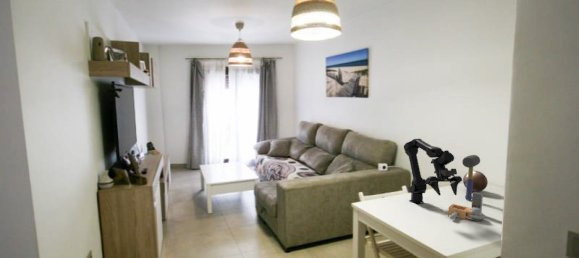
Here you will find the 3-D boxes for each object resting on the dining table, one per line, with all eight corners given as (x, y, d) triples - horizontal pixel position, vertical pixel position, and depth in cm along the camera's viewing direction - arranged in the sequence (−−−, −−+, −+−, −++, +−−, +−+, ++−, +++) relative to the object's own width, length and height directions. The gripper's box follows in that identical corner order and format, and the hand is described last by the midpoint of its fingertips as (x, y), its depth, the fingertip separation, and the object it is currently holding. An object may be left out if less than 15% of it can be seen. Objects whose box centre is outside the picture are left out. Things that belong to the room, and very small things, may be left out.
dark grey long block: (471, 213, 179) (472, 193, 177) (472, 212, 181) (474, 191, 180) (479, 216, 176) (481, 195, 174) (481, 214, 178) (483, 193, 177)
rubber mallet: (471, 203, 195) (474, 157, 192) (458, 200, 201) (461, 155, 197) (478, 199, 203) (481, 155, 200) (466, 196, 209) (469, 153, 205)
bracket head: (443, 218, 172) (443, 208, 171) (452, 210, 183) (453, 201, 183) (478, 228, 160) (479, 217, 159) (486, 219, 171) (487, 208, 170)
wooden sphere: (457, 190, 223) (459, 170, 221) (470, 187, 230) (471, 167, 228) (478, 196, 210) (480, 174, 208) (491, 192, 217) (492, 172, 215)
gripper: (431, 163, 166) (439, 191, 159) (463, 162, 168) (472, 190, 161) (421, 170, 176) (428, 197, 169) (452, 169, 178) (460, 196, 171)
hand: (447, 195), depth 167 cm, fingers open, 9 cm apart
